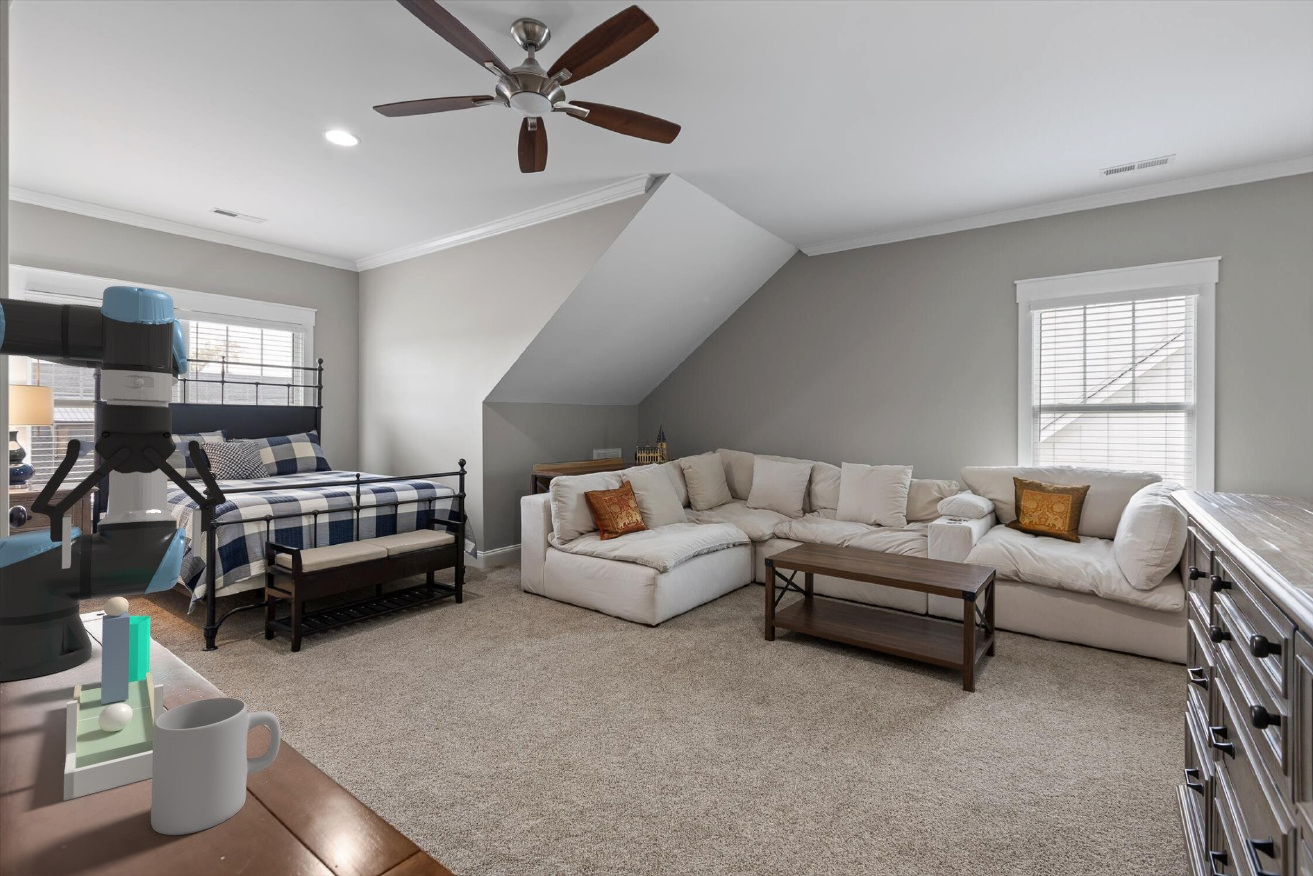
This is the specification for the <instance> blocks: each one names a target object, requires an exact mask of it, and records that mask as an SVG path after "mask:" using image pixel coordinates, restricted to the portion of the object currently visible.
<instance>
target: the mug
mask: <svg viewBox="0 0 1313 876" xmlns="http://www.w3.org/2000/svg"><path fill="white" fill-rule="evenodd" d="M262 725H265V726H268V728H269V731H270V741H269V746H268V748H267V750H266V751H265V753H264V754H262V755H260V756H258V757H255V758H254V757H252V758H248V757H247V744H248V743H247V742H248V734H249V731H250V730H252V729H254V728H256V727H258V726H262ZM280 745H281V726H280V722H279V719H278V717H277V715H276V714H274V712H271V711H267V710H263V711H261V710H260V711H254V712H248V706H247V703H246V701H244V700H242V699H240V698H236V697H212V698H211V697H210V698H203V699H200V700H194V701H189V702H187V703H186V702H185V703H183V704H180V705H177V706H174V707H172V708H170V709H167V710H166V711H163V713H162V714H161V715H160V716H158V717H157V718H156V720H155V722H154V725H153V766H152V778H151V805H150V806H151V807H150V808H151V809H150V824H151V827H152V829H153V830H154V831H155V832H157V833H158V834H162V835H166V836H167V835H168V836H182V835H188V834H193V833H197V832H202V831H205V830H208V829H211V828H213V827H215V826H218V825H220V824H222V823H224V822H226V821H227V820H229V819H231V818H233V817H234V816H235V815H236V814H238V812H240V810H241V809H242V808H243V807H244V805H245V802H246V800H247V799H246V798H247V777H248V776H250V775H253V774H255V773H258V772H261V771H262V770H264V769H266V768H269V766H270V765H272V764H273V762H274V761H275V760H276V759H277V756H278V755H279V754H278V753H279V751H280V747H281V746H280Z"/></svg>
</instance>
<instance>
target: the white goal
mask: <svg viewBox="0 0 1313 876" xmlns="http://www.w3.org/2000/svg"><path fill="white" fill-rule="evenodd" d="M162 713H164V683H160V684H154V722H155V720H156V718H157V717H158V716H160V715H161V714H162ZM153 725H154V724H153ZM65 729H66V733H65V735H66V736H65V737H66V739H65V742H66V743H65V764H64V765H65V766H64V773H63V774H64V775H63V776H64V777H63V801H64V802H65V801H68V800H72V799H73V800H74V799H76V798H80V797H84V796H89V795H91V794H96V793H99V792H102V791H107V790H112V789H115V788H119V787H122V786H126V785H129V784H133V783H136V782H137V783H138V782H141V781H145V780H149V779H152V766H153V750H151V751H147V752H143V753H139V754H135V755H131V756H126V757H122V758H118V759H114V760H110V761H106V762H101V763H97V764H93V765H89V766H85V767H81V768H77V769H76V753H77V700H74V701H73V700H70V701H66V728H65Z"/></svg>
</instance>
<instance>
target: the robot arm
mask: <svg viewBox="0 0 1313 876" xmlns="http://www.w3.org/2000/svg"><path fill="white" fill-rule="evenodd" d="M174 310H175V309H174V299H173V298H172V296H171V295H170V294H168V293H166V292H164V291H160V290H155V289H152V288H145V287H139V286H138V287H137V286H125V285H113V286H108V287H107V288H105V289H104V291H103V292H102V304H101V306H94V305H87V304H76V303H75V304H74V303H72V304H71V303H70V304H69V303H68V304H67V303H59V304H58V303H50V302H43V301H42V302H41V301H34V300H24V299H15V298H7V297H0V356H15V357H16V356H17V357H27V358H30V359H33V360H40V361H45V362H49V363H53V364H58V365H64V366H70V367H74V368H76V367H77V368H85V369H87V368H88V369H99V370H100V399H101V400H103V401H106V402H105V404H102V406H100V407H99V408H100V410H99V411H100V412H99V413H100V415H99V438H98V440H97V441H88V440H87V441H86V440H79V439H78V438H72V439H70V440H69V441H68V443H67V446H66V452H65V457H64V458H63V459H62V460H61V463H60V465H58V467H57V469H56V470H55V471H54V473H53V474H52V475H51V477H50V479H48V481H47V483H46V484H45V486H43V489H42V490H41V492H40V493H39V494H38V496H37V497H36V499H35V500H34V502H33V503H32V504H31V506H30V511H31V512H32V513H33V514H40V515H46V516H48V517H49V519H50V521H49V522H50V523H49V524H50V527H49V528H45V529H38V530H32V531H27V532H20V533H17V534H12V535H8V536H4V537H1V538H0V682H6V681H9V682H10V681H16V680H25V679H32V678H36V677H41V676H45V675H50V674H54V673H59V672H62V671H65V670H68V669H71V668H74V667H77V666H79V665H81V664H84V663H86V662H88V660H90V659H91V658H92V656H93V651H92V649H93V648H92V647H93V644H92V641H91V639H90V636H89V634H88V632H87V629H86V627H85V625H84V623H83V620H82V618H81V615H80V601H86V600H95V599H104V598H105V599H106V598H114V597H123V596H132V595H147V594H150V593H156V592H164V591H168V590H170V589H173V588H174V587H175V586H176V584H177V583H178V581H179V578H180V574H181V567H182V564H183V557H184V552H185V551H184V550H185V545H186V535H187V531H186V529H185V528H183V527H177V526H178V525H177V523H178V521H177V520H178V518H176V517H175V516H173V515H172V514H171V513H170V512H169V511H168V478H169V479H170V480H171V481H172V482H173V483H174V484H175V485H176V486H178V487H179V488H180V489H181V491H183V492H184V493H185V494H186V495H187V496H188V497H189V498H190V499H191V500H192V501H193V502H195V504H197V505H198V508H194V507H193V508H192V522H191V523H192V525H191V526H192V527H191V533H192V534H191V555H192V556H193V557H194V558H196V557H201V549H202V548H201V546H202V545H201V544H202V543H201V542H202V541H201V537H202V532H209V531H210V529H211V512H212V509H213V508H214V507H217V506H220V505H224V504H226V501H227V499H226V496H225V495H224V492H223V491H222V490H221V487H220V486H219V485H218V483H217V482H216V479H215V477H214V476H213V474H212V473H211V471H210V470H209V468H208V466H207V464H206V462H205V461H204V460H203V457H202V456H201V455H202V454H201V448H200V442H198V441H197V440H195V439H190V440H188V441H175V442H174V439H173V435H172V434H173V433H172V431H173V428H172V427H173V424H172V423H173V422H172V421H173V409H171V407H170V406H169V403H171V402H172V401H173V387H174V386H175V385H176V384H178V382H179V375H184V374H187V372H188V359H187V350H186V348H187V347H186V340H185V337H184V336H185V335H184V331H183V327H182V324H181V321H180V320H179V319H178V318H177V317H176V316H175V313H174ZM91 451H95V452H96V453H97V454H98V455H99V457H101V458H102V460H104V461H103V462H102V463H100V465H99V466H98V467H96V469H94V471H92V472H91V473H89V475H87V476H86V477H85V478H84V479H83V480H82V481H81V482H80V483H78V484H77V486H75V487H74V488H73V489H71V491H69V492H68V493H67V495H65V496H64V497H63V498H61V500H60V501H59V502H57V503H56V504H52V503H50V501H51V500H52V498H53V496H54V495H55V494H56V493H57V491H58V489H59V488H60V487H61V485H62V484H63V482H64V481H65V479H66V478H67V476H68V475H69V473H70V471H71V470H72V469H73V468H74V466H75V464H76V463H77V461H78V459H79V458H83V457H86V456H87V455H88V453H89V452H91ZM176 451H180V453H181V455H182V456H184V457H189V460H190V462H191V464H192V465H193V467H194V469H195V471H196V472H197V474H198V475H199V478H200V479H201V481H202V482H203V484H204V485H205V487H206V489H207V491H208V492H209V494H210V495H211V496H210V497H208V498H205V496H204V495H203V494H201V493H200V492H199V491H198V490H197V489H196V488H195V487H194V486H193V485H192V484H191V483H190V482H189V481H187V479H185V478H184V477H183V476H182V474H180V473H179V472H178V470H176V469H175V468H174V467H173V466H172V464H170V463H169V462H168V460H169V458H170V457H172V455H173V454H174V453H175V452H176ZM107 475H109V476H108V477H109V481H108V483H109V484H108V513H107V515H106V516H105V517H103V518H102V519H101V520H100V521H99V522H97V523H96V524H97V526H96V527H97V529H96V531H97V532H96V533H89V534H87V533H86V534H82V533H83V530H81V528H80V527H79V526H73V525H72V514H65V513H66V512H67V511H69V509H71V508H72V507H73V506H74V505H75V504H77V503H78V501H80V500H81V499H82V498H83V497H84V496H85V495H86V494H87V493H88V492H90V490H92V489H93V488H94V487H95V486H96V485H97V484H98V483H99V482H101V481H102V480H103V479H104V478H106V477H107Z"/></svg>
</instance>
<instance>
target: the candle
mask: <svg viewBox="0 0 1313 876" xmlns="http://www.w3.org/2000/svg"><path fill="white" fill-rule="evenodd" d="M127 612H129V611H128V610H127V611H126V613H127ZM150 657H151V616H149V615H130V633H129V682H134V681H140V680H145V679H146V673H149V672H151V671H150V670H151V669H150V668H151V665H150V664H151V663H150V662H151V658H150Z"/></svg>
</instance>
